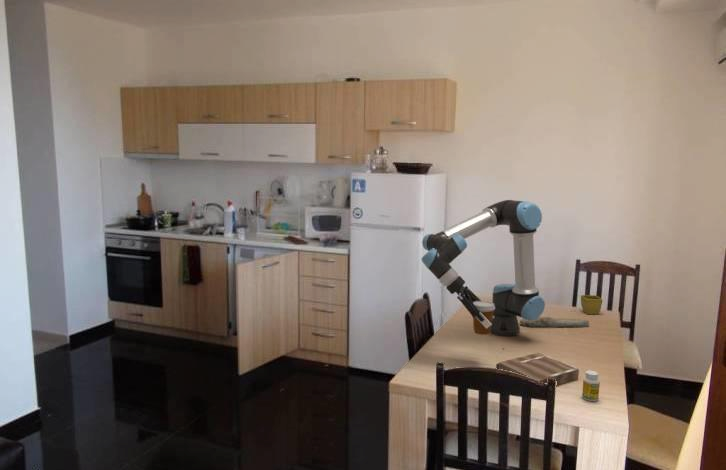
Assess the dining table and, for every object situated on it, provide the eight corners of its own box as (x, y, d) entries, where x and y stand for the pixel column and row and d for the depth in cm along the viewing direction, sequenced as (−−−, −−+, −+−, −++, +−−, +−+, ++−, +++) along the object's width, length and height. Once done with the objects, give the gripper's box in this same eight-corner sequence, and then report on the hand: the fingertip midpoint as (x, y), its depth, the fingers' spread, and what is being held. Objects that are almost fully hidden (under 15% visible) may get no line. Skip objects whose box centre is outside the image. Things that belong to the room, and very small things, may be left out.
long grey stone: (592, 331, 269) (583, 326, 279) (593, 321, 269) (584, 316, 279) (523, 328, 268) (517, 322, 278) (524, 317, 267) (517, 312, 277)
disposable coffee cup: (489, 337, 214) (490, 308, 212) (466, 333, 219) (467, 304, 217) (497, 331, 222) (498, 302, 220) (475, 327, 227) (476, 299, 225)
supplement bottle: (590, 394, 195) (592, 368, 193) (601, 400, 190) (604, 374, 188) (578, 396, 193) (580, 370, 192) (589, 402, 188) (591, 376, 187)
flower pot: (601, 315, 291) (603, 299, 289) (585, 315, 291) (586, 299, 289) (595, 311, 299) (596, 295, 298) (579, 310, 299) (580, 295, 298)
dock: (535, 361, 226) (536, 351, 225) (578, 379, 207) (579, 368, 207) (496, 371, 215) (496, 360, 214) (537, 391, 197) (538, 380, 196)
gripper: (450, 281, 233) (486, 320, 230) (440, 293, 212) (480, 337, 210) (463, 269, 230) (500, 309, 228) (454, 281, 210) (494, 325, 207)
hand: (490, 322), depth 219 cm, fingers closed on disposable coffee cup, 9 cm apart
